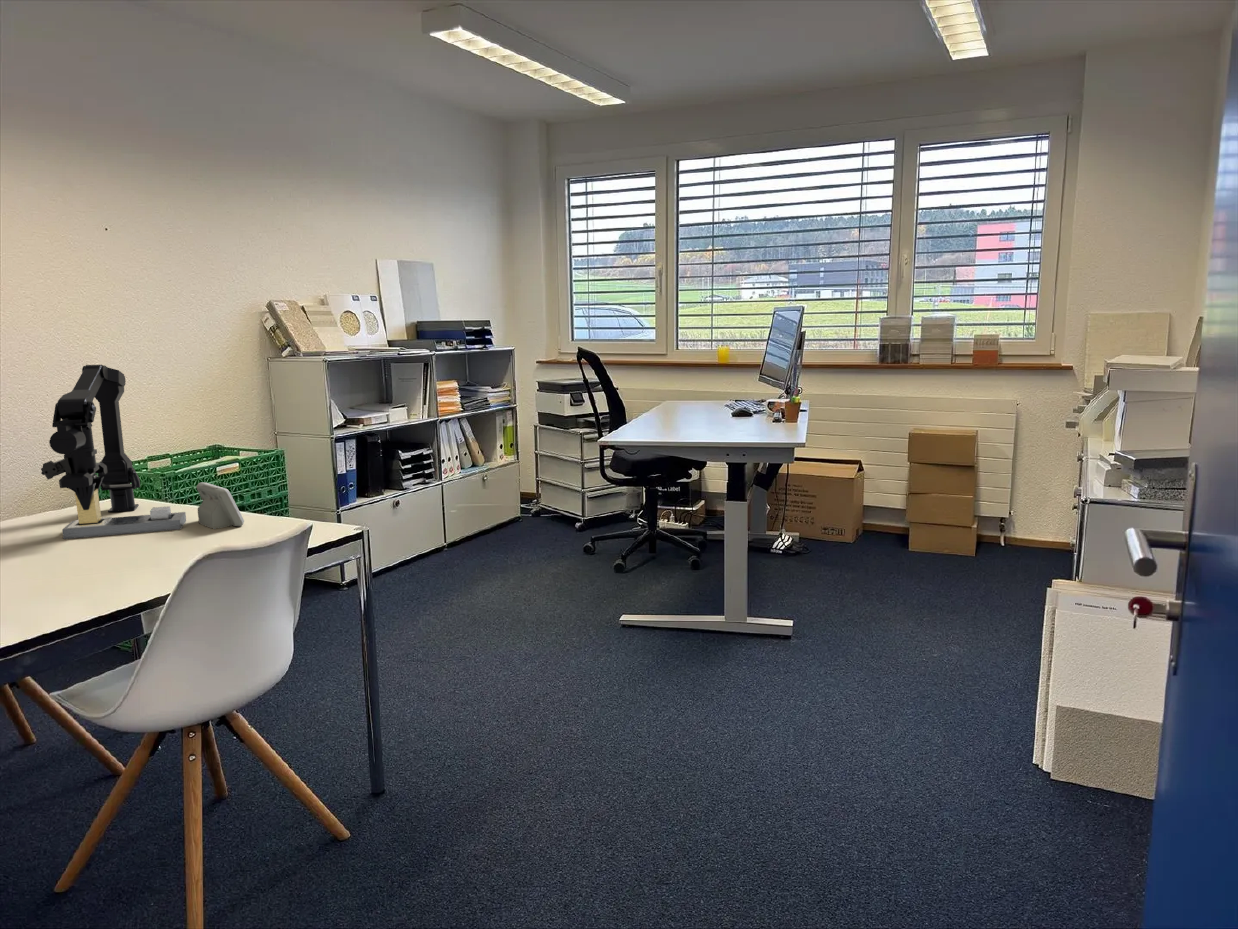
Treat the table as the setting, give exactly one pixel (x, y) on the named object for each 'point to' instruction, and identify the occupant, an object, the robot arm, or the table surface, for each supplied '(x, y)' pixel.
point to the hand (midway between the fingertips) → (88, 508)
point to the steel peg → (160, 513)
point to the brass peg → (94, 510)
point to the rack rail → (123, 526)
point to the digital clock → (217, 507)
